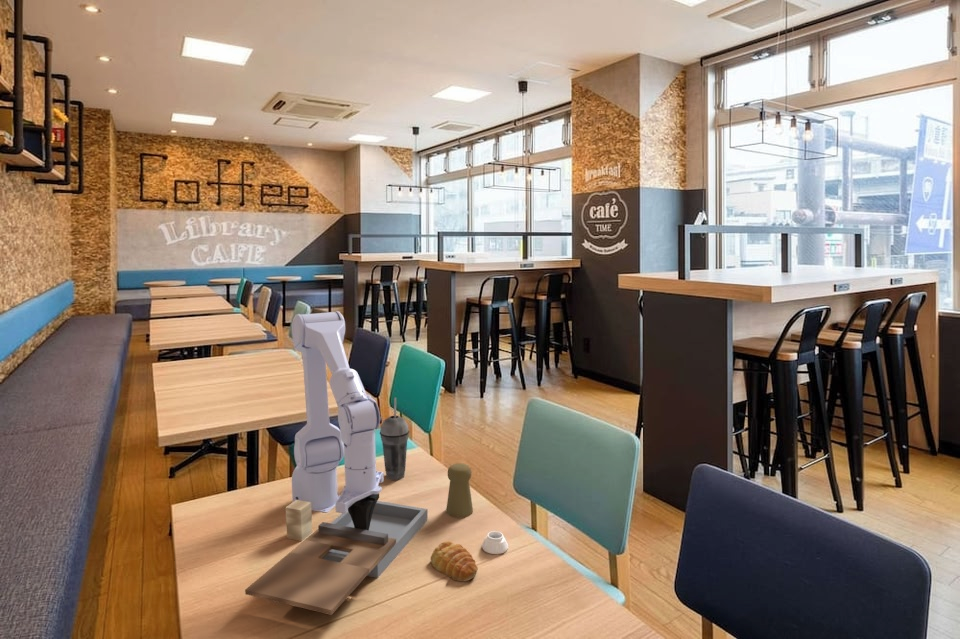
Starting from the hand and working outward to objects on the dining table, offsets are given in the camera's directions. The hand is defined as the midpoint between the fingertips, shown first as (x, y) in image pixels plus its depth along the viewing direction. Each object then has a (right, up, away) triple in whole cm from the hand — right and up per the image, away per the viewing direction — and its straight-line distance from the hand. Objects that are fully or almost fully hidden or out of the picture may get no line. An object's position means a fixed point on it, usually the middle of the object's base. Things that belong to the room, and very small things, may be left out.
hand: (362, 531), depth 113 cm
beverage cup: (+1, +1, +36) cm, 36 cm away
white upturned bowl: (+25, -5, +3) cm, 26 cm away
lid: (-4, -3, -10) cm, 11 cm away
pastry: (+18, -6, -4) cm, 19 cm away
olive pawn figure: (+18, -2, +17) cm, 25 cm away
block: (-14, -3, +6) cm, 16 cm away
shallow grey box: (0, -4, +5) cm, 6 cm away
